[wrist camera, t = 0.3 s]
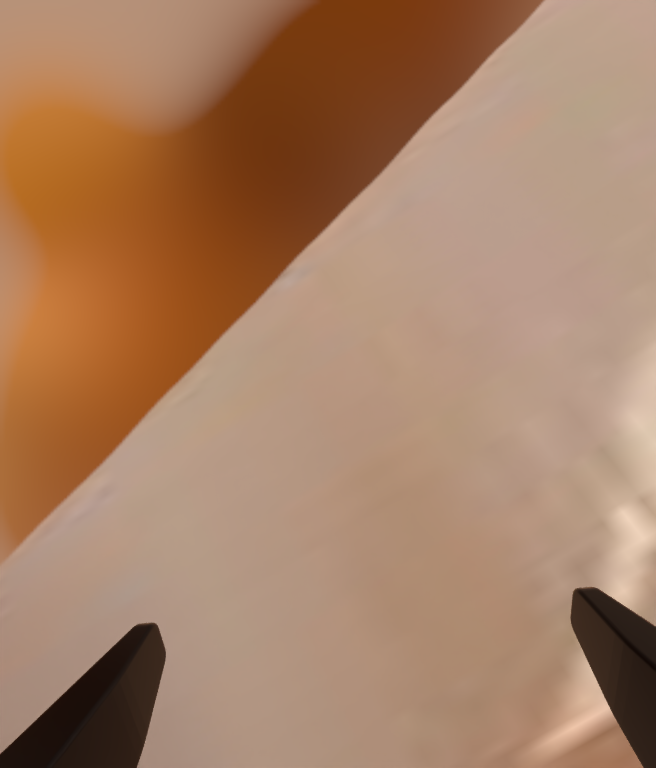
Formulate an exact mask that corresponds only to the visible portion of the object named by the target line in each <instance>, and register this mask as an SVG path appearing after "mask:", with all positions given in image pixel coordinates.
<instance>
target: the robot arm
mask: <svg viewBox="0 0 656 768" xmlns="http://www.w3.org/2000/svg"><path fill="white" fill-rule="evenodd" d="M571 624H572V627H573V630H574V632H575V635H576V637H577V639H578V641H579V643H580V645H581V647H582V650H583V652H584V654H585V656H586V658H587V660H588V662H589V665H590V667H591V669H592V671H593V673H594V675H595V677H596V679H597V682H598V684H599V686H600V688H601V690H602V692H603V694H604V697H605V699H606V701H607V703H608V705H609V707H610V709H611V711H612V713H613V715H614V717H615V718H616V720H617V722H618V724H619V726H620V727H621V729H622V731H623V733H624V734H625V736H626V738H627V740H628V741H629V743H630V745H631V747H632V748H633V750H634V752H635V754H636V755H637V757H638V759H639V761H640V762H641V764H642V766H643V767H644V768H656V626H654V625H653V624H651V623H650V622H648V621H647V620H645V619H644V618H642V617H641V616H639V615H638V614H636V613H635V612H633V611H632V610H630V609H628V608H627V607H625V606H624V605H622V604H621V603H619V602H618V601H616V600H615V599H613V598H612V597H610V596H609V595H607V594H606V593H604V592H603V591H601V590H599V589H597V588H595V587H585V588H577V589H575V590H574V591H573V597H572V608H571ZM165 658H166V651H165V647H164V643H163V640H162V637H161V634H160V631H159V628H158V625H157V624H155V623H143V624H138V625H136V626H134V627H133V628H132V629H131V630H130V631H129V632H128V633H127V634H126V635H125V636H124V637H123V638H122V639H120V640H119V641H118V642H117V643H116V644H115V645H114V646H113V647H112V648H111V649H110V650H109V651H108V652H107V653H106V654H105V655H104V656H103V657H102V658H101V659H99V660H98V661H97V662H96V663H95V664H94V665H93V666H92V667H91V668H90V669H89V670H88V671H87V672H86V673H85V674H84V675H83V676H82V677H81V678H80V679H79V680H77V681H76V682H75V683H74V684H73V685H72V686H71V687H70V688H69V689H68V690H67V691H66V692H65V693H64V694H63V695H62V696H61V697H60V698H59V699H58V700H57V701H55V702H54V703H53V704H52V705H51V706H50V707H49V708H48V709H47V710H46V711H45V712H44V713H43V714H42V715H41V716H40V717H39V718H38V719H37V720H36V721H35V722H33V723H32V724H31V725H30V726H29V727H28V728H27V729H26V730H25V731H24V732H23V733H22V734H21V735H20V736H19V737H18V738H17V739H16V740H15V741H14V742H13V743H11V744H10V745H9V746H8V747H7V748H6V749H5V750H4V751H3V752H2V753H1V754H0V768H137V765H138V762H139V759H140V756H141V753H142V750H143V747H144V743H145V740H146V736H147V732H148V728H149V724H150V720H151V716H152V712H153V708H154V704H155V700H156V696H157V692H158V688H159V684H160V680H161V676H162V672H163V668H164V664H165Z"/></svg>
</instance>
